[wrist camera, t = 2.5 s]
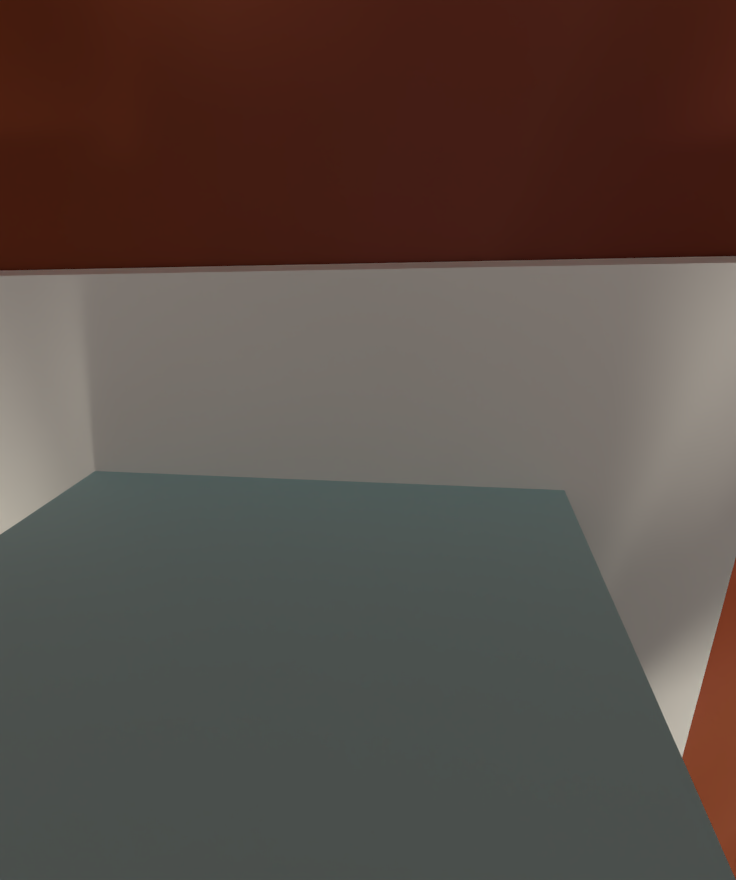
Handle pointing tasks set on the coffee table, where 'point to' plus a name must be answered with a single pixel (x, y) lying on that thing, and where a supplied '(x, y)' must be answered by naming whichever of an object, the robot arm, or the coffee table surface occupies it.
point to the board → (410, 401)
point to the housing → (327, 690)
